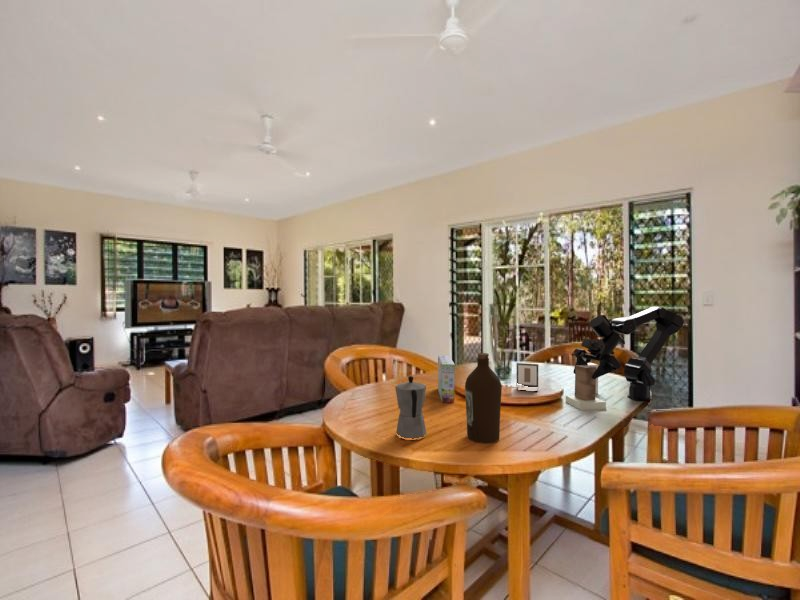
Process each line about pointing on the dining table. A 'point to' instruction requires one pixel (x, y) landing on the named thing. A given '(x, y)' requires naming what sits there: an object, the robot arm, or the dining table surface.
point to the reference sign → (527, 374)
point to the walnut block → (585, 382)
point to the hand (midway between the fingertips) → (583, 375)
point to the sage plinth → (585, 403)
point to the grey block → (596, 378)
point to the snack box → (446, 378)
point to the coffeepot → (411, 409)
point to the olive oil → (483, 402)
